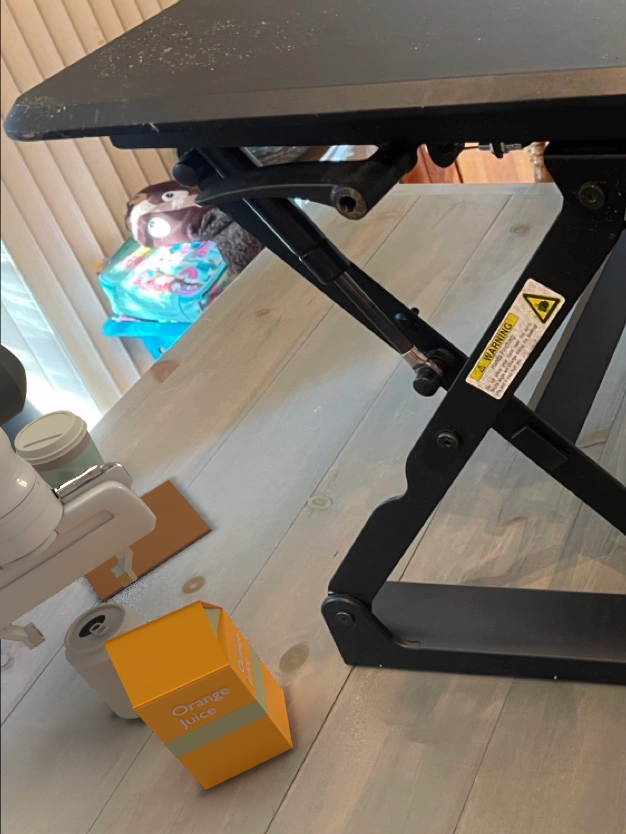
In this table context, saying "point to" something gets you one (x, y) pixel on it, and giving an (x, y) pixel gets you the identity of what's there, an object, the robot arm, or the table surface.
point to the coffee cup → (57, 447)
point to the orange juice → (203, 691)
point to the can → (102, 651)
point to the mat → (154, 539)
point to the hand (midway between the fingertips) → (84, 610)
